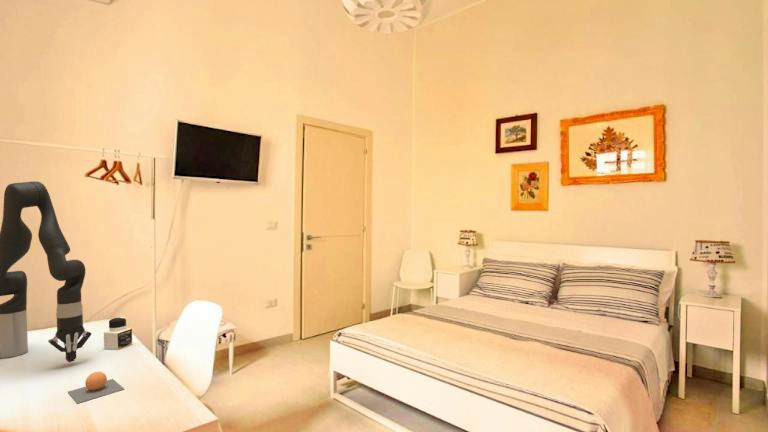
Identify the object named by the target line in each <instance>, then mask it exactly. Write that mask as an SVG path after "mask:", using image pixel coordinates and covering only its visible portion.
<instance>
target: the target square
mask: <svg viewBox="0 0 768 432" xmlns="http://www.w3.org/2000/svg"><path fill="white" fill-rule="evenodd" d="M124 390H125V388H124V387H123V386H122V385H120V383H118V382H117V381H116V380H115V379H114V378H112V379H111V378H110V379H107V381H106V384H105V385H104V386H103V387H102V388H101V389H98V390H89V389H88V388H87V387H86V386H82V387H79V388H76V389H72V390H69V391H67V393H68V394H69V396H70V397H71V398H72V399H73V400H74V401H75V404H77V405H79V404H81V403H85V402H88V401H92V400H94V399H98V398H101V397H104V396H108V395H111V394H114V393H117V392H120V391H124Z"/></svg>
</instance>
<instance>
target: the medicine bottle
mask: <svg viewBox="0 0 768 432" xmlns="http://www.w3.org/2000/svg"><path fill="white" fill-rule="evenodd" d="M132 345H133V327H127V318H126V317H123V316H120V317H113V318H111V319H109V320H108V330H106V331H104V332H103V349H104V350H111V351H112V350H113V351H114V350H115V351H119V350H122V349H124V348H127V347H128V346H132Z"/></svg>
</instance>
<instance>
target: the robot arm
mask: <svg viewBox="0 0 768 432" xmlns="http://www.w3.org/2000/svg"><path fill="white" fill-rule="evenodd" d="M3 193H4V194H3V209H2V222H1V228H0V297H4V296H5V297H6V296H11V295H13V296H12V297H11V298H10V299H9V300H6V301H4V302H2V303H0V359H7V358H12V357H13V358H14V357H17V356H21V355H24V354H26V353H27V352H28V350H29V348H28V343H29V342H28V340H29V339H28V313H27V312H28V311H27V310H28V309H27V305H28V303H27V299H28V297H27V296H28V295H27V293H28V276H27V274H26V272H25V271H22V270H15V271H9V269H10V268H11V267H13V266H14V265H15V264H16V263H17V262H19V261H20V260H21V259H23V257H24V256H25V255H27V253H28V252H29V251H30V249H31V243H32V240H33V234H32V231H31V229H30V227H28V225H27V224H26V223H25V222H24V220H23V219H22V212H23V209H26V208H33V207H34V208H35V207H37V208H38V210H39V212H40V215H41V219H40V225H39V228H38V232H37V233H38V235H37V236H38V240H39V243H40V245H41V247H42V248H43V250H44V252H45V255H46V258H47V259H46V260H47V264H48V270H49V271H48V272H49V274H50V276H51V277H52V278H53V279H54V280H56V281H59V282H64V285H62V286H60V287H59V288H58V289H57V291H56V312H55V313H56V332H55V334H54V335H55V336H54V337H52V338H51V339H48V340H47V342H48V343H49V344H50V345H51V346H53V347H54V348H55V349H57V350H58V351H59V352H61V353H65V360H66V361H67V362H68V363H72V362H75V360H76V359H77V350H78V349H82V348H83V346H84V345H85V344H86V342H87V341H88V340H89V339H90V337H91V336H92V332H90V331H87V330H86V329H85V327H84V317H83V315H84V312H83V303H82V289H83V288H82V287H83V284H84V280H85V277H86V266H85V264H84V262H83V261H81V260H79V259H69V260H67V258H66V255H68V254H69V253H70V252H71V248H70V245H69V243H68V241H67V239H66V237H65V235H64V234H63V232H62V229H61V227H60V225H59V222H58V219H57V216H56V211H55V209H54V206H53V202H52V198H51V196H50V194H49V190H48V189H47V188H46V186H45V184H44V183H42V182H40V181H24V182H13V183H9V184H7V186H6V188H5V189H4V192H3ZM59 341H60V342H62V343H63V345H64V347H62V345H60V344H58V343H59Z"/></svg>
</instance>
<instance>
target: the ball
mask: <svg viewBox="0 0 768 432" xmlns="http://www.w3.org/2000/svg"><path fill="white" fill-rule="evenodd" d="M107 380H108V378H107V375H106V374H105V373H104V372H103V371H95V372H92V373H90V374H88V376H87V377H86V379H85V384H84V385H85V387H87V388H88V389H89V390H98V389H101V388H102V387H103V386H104V385H105V384H106V381H107Z"/></svg>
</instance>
